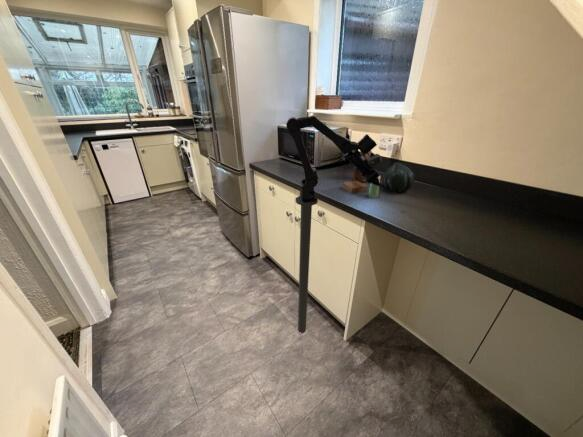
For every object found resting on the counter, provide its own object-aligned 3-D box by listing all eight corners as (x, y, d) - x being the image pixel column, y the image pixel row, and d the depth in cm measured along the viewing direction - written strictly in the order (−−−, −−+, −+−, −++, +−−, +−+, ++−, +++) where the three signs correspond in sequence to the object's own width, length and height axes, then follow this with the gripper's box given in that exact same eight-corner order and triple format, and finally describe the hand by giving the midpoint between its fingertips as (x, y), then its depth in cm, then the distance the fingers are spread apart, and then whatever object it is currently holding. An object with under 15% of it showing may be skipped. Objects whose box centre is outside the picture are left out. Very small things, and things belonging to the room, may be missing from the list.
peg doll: (372, 198, 114) (376, 175, 108) (366, 195, 117) (369, 173, 112) (379, 196, 115) (383, 174, 110) (373, 193, 119) (376, 171, 113)
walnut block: (351, 193, 119) (351, 188, 117) (342, 187, 126) (342, 182, 125) (366, 191, 121) (366, 186, 120) (356, 186, 129) (357, 180, 128)
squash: (424, 182, 119) (410, 156, 120) (407, 189, 111) (393, 161, 113) (401, 192, 131) (389, 169, 133) (385, 199, 124) (372, 174, 125)
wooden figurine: (360, 183, 133) (365, 151, 124) (351, 180, 137) (355, 149, 129) (372, 179, 139) (378, 148, 131) (364, 176, 144) (368, 146, 135)
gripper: (379, 152, 97) (400, 178, 102) (366, 144, 114) (384, 166, 119) (358, 171, 101) (378, 195, 106) (348, 160, 117) (367, 181, 122)
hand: (377, 183), depth 113 cm, fingers open, 5 cm apart
